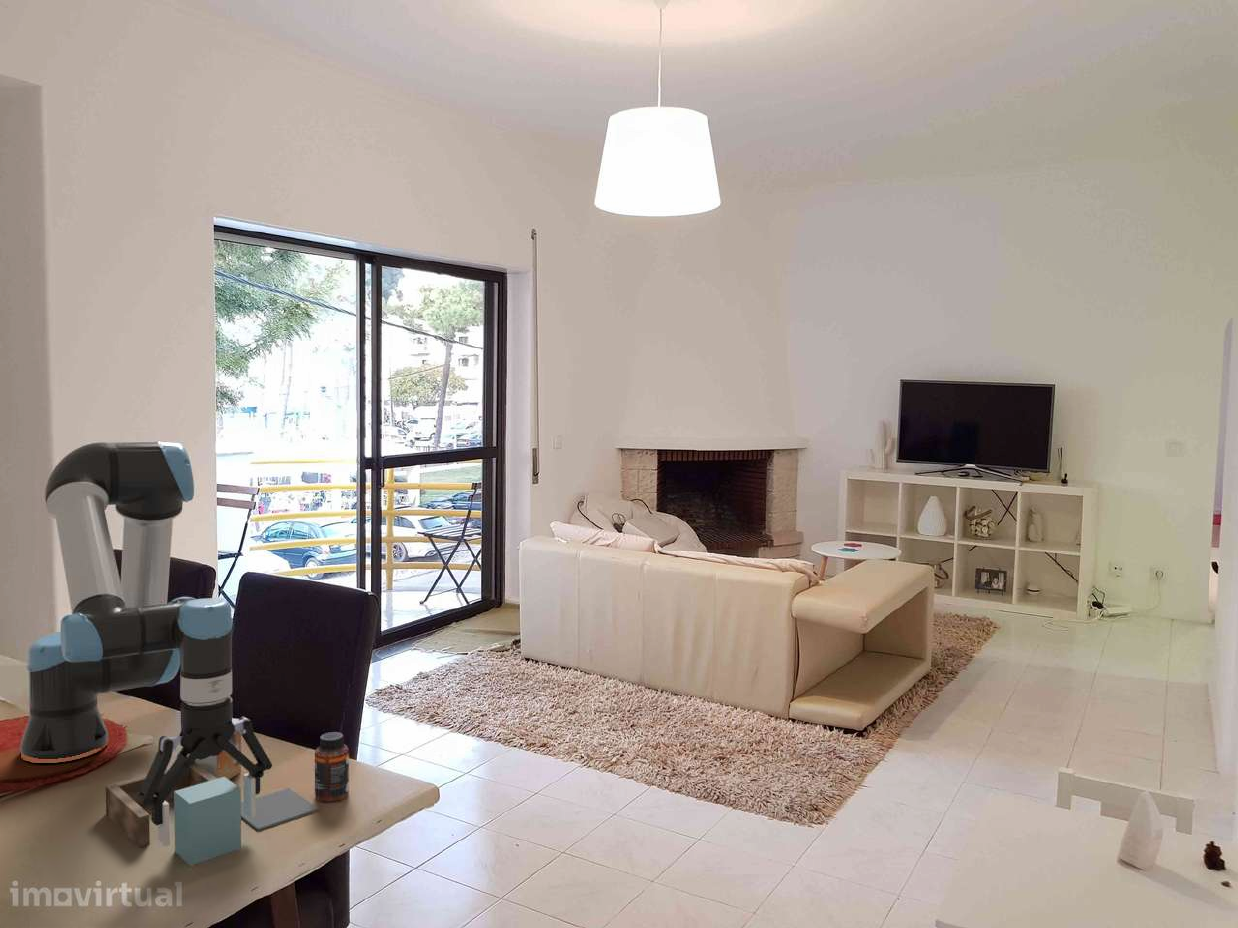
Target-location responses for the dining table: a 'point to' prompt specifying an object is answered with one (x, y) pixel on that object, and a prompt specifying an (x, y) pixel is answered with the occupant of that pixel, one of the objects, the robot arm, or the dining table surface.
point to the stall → (129, 808)
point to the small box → (223, 760)
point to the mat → (278, 809)
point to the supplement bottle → (331, 768)
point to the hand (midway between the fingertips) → (208, 828)
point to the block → (207, 820)
